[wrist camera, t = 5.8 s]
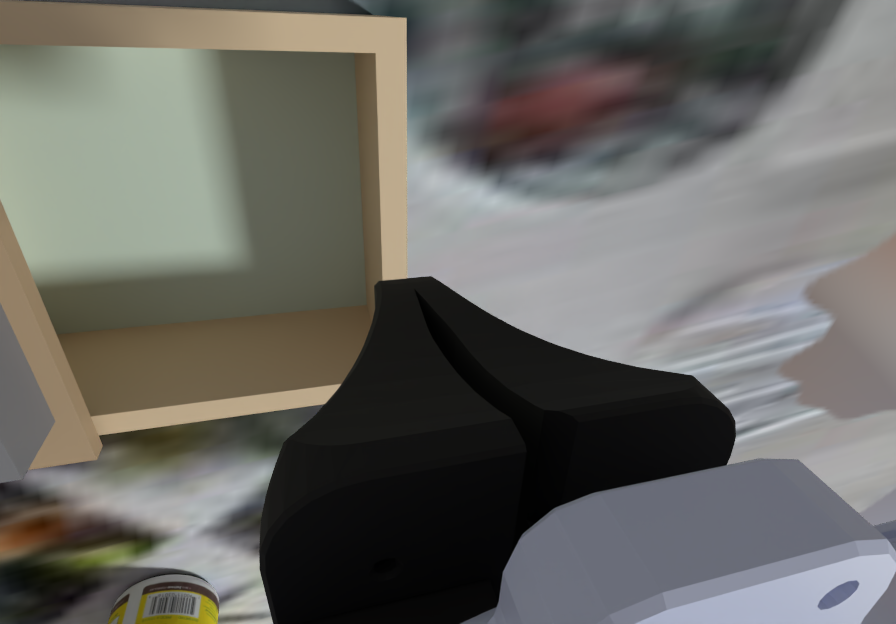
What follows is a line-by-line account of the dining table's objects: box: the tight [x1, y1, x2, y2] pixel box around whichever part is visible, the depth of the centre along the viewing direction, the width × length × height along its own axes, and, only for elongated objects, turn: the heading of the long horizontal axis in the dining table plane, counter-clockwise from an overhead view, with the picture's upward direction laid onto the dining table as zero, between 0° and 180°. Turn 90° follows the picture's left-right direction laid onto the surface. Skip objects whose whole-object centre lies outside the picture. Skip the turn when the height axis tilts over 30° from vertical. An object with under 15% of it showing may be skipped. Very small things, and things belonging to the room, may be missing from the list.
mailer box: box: [0, 0, 407, 435], centre depth 17 cm, size 12×14×6 cm
